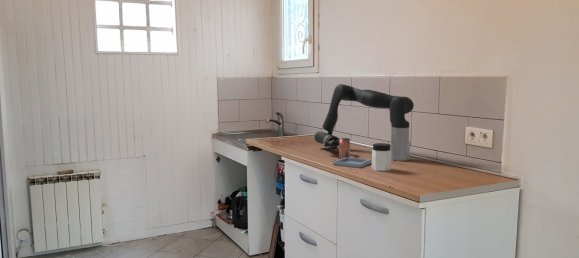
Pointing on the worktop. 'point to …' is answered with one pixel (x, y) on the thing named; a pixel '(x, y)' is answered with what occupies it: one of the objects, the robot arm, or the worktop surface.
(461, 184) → the worktop surface
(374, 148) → the jar
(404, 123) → the robot arm
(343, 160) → the tray
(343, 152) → the canister
